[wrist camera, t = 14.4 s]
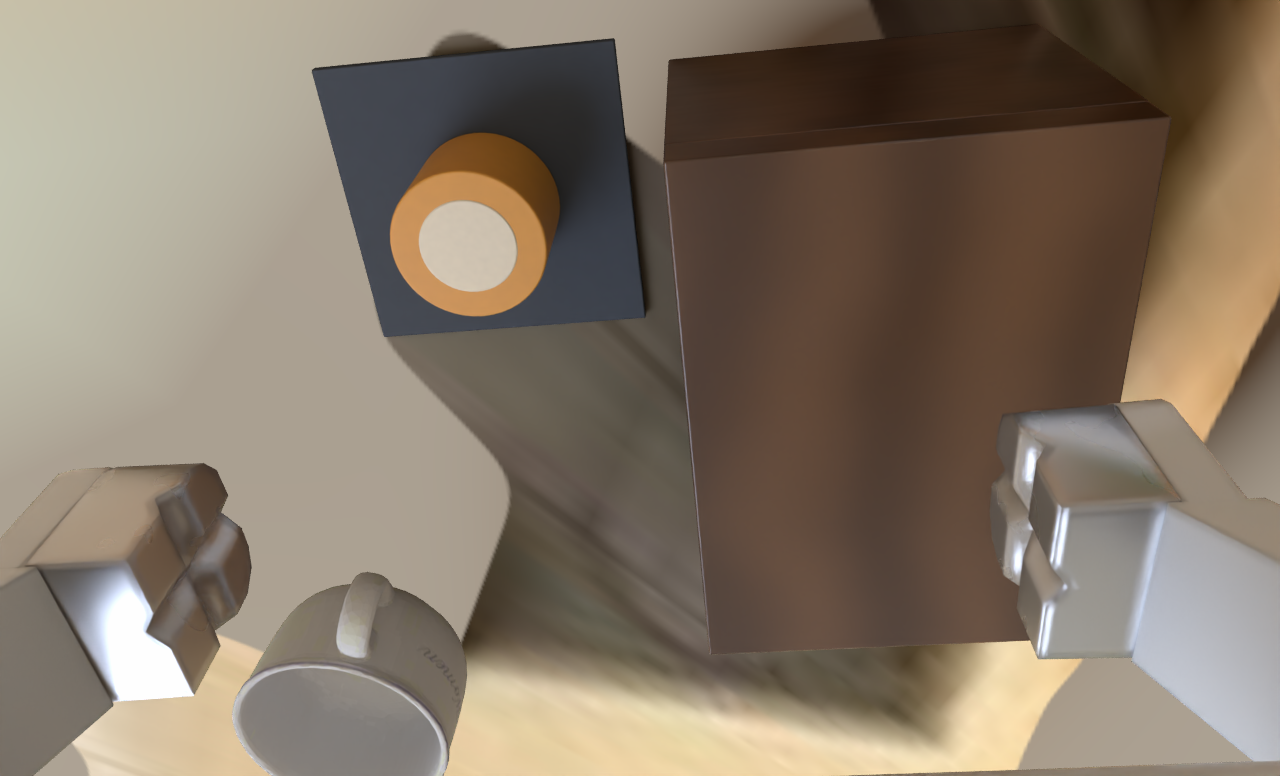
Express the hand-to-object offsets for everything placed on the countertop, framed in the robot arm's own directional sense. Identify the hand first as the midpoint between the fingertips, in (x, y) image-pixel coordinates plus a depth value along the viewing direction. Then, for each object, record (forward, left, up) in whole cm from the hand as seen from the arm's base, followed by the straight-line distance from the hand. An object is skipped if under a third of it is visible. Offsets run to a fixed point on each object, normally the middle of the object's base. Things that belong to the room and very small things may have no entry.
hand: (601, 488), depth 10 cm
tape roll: (+8, +8, -31) cm, 33 cm away
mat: (+8, +8, -31) cm, 33 cm away
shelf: (-7, +13, -31) cm, 34 cm away
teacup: (+18, +31, -31) cm, 48 cm away
